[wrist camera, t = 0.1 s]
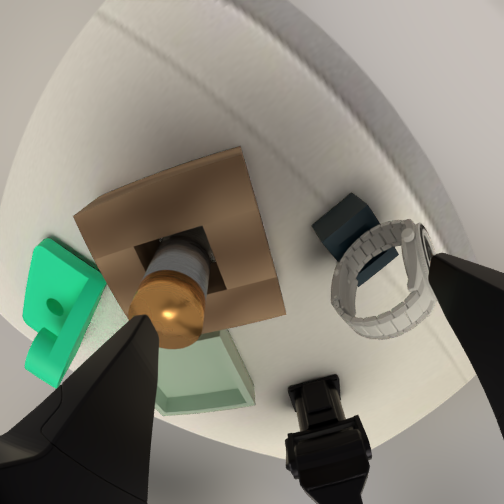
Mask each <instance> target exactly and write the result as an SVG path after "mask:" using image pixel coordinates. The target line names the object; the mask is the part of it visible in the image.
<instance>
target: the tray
mask: <svg viewBox="0 0 504 504" xmlns="http://www.w3.org/2000/svg"><path fill="white" fill-rule="evenodd" d="M253 405H255V393H254V384H253V382H252V380H251V378H250V376H249V374H248V372H247V370H246V368H245V366H244V364H243V362H242V360H241V357H240V355H239V353H238V351H237V349H236V347H235V345H234V342H233V340H232V338H231V336H230V334H229V332H228V329H224V330H219V331H214V332H209V333H205V334H201V335H200V337H199V339H198V340H197V341H196V342H195V343H193V344H192V345H190V346H188V347H185V348H181V349H164V348H160V347H159V359H158V384H157V393H156V401H155V409H156V410H157V411H158V412H159V413H160V414H161V415H162V416H172V415H185V414H196V413H206V412H214V411H222V410H229V409H235V408H242V407H248V406H253Z"/></svg>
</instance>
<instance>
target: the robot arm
mask: <svg viewBox="0 0 504 504" xmlns="http://www.w3.org/2000/svg"><path fill="white" fill-rule="evenodd" d="M428 281H429V284H430V286H431V288H432V290H433V292H434V294H435V296H436V298H437V300H438V302H439V304H440V306H441V308H442V310H443V313H444V315H445V317H446V319H447V320H448V322H449V324H450V326H451V328H452V329H453V331H454V333H455V335H456V336H457V338H458V340H459V342H460V343H461V345H462V347H463V349H464V351H465V353H466V355H467V356H468V358H469V360H470V362H471V364H472V366H473V368H474V370H475V372H476V374H477V376H478V378H479V380H480V383H481V385H482V387H483V389H484V391H485V393H486V396H487V398H488V400H489V403H490V405H491V407H492V409H493V412H494V414H495V417H496V419H497V422H498V425H499V427H500V430H501V433H502V436H503V439H504V273H502V272H499V271H496V270H493V269H491V268H488V267H485V266H482V265H479V264H476V263H473V262H470V261H467V260H464V259H461V258H458V257H455V256H452V255H449V254H446V253H439V254H435V255H433V256H432V257H431V261H430V268H429V275H428ZM158 359H159V336H158V333H157V331H156V329H155V327H154V325H153V323H152V321H151V319H150V318H149V316H148V315H146V314H143V315H136V316H134V317H133V318H132V319H130V320H129V321H128V322H127V323H126V324H125V325H124V326H123V327H122V328H121V329H119V330H118V331H117V332H116V333H115V334H114V335H113V336H112V337H111V338H110V339H109V340H108V341H106V342H105V343H104V344H103V345H102V346H101V347H100V348H99V349H98V350H97V351H96V352H95V353H94V354H92V355H91V356H90V357H89V358H88V359H87V360H86V361H85V362H84V363H83V364H82V365H81V366H80V367H79V368H78V369H77V370H75V371H74V372H73V374H71V375H70V376H69V377H68V378H67V379H66V380H65V381H64V382H63V383H62V385H60V386H59V387H58V388H57V389H56V390H55V391H54V392H53V393H51V395H49V396H48V397H47V398H46V399H45V400H44V401H43V402H42V403H41V404H40V405H39V406H37V407H36V408H35V409H34V410H33V411H31V412H30V413H29V414H28V415H27V416H26V417H24V418H23V419H22V420H21V421H20V422H19V423H17V424H16V425H15V426H14V427H13V428H12V429H11V430H9V431H8V432H7V433H5V434H3V435H1V436H0V504H147V496H148V476H149V460H150V448H151V437H152V427H153V418H154V409H155V401H156V393H157V384H158ZM288 393H289V396H290V399H291V402H292V404H293V407H294V410H295V412H297V416H298V422H299V427H300V432H296V433H288V438H287V439H286V440H285V445H286V469H287V470H289V471H291V473H292V475H293V476H294V478H295V479H299V482H300V485H301V486H302V488H303V490H304V491H305V493H306V494H307V495H308V496H309V497H310V498H311V499H312V500H313V501H314V502H315V503H316V504H363V502H362V499H361V494H362V491H363V489H364V486H365V483H366V480H367V478H368V473H369V468H370V465H369V462H368V460H370V459H371V458H372V453H371V448H370V444H369V440H368V437H367V435H366V432H365V430H364V428H363V425H362V423H361V420H360V418H359V416H358V415H356V416H354V417H352V418H348V419H346V418H345V415H344V411H343V408H342V405H341V402H340V400H341V398H340V384H339V377H338V375H333V376H330V377H326V378H323V379H319V380H315V381H312V382H308V383H304V384H300V385H296V386H292V387H289V388H288Z"/></svg>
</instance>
